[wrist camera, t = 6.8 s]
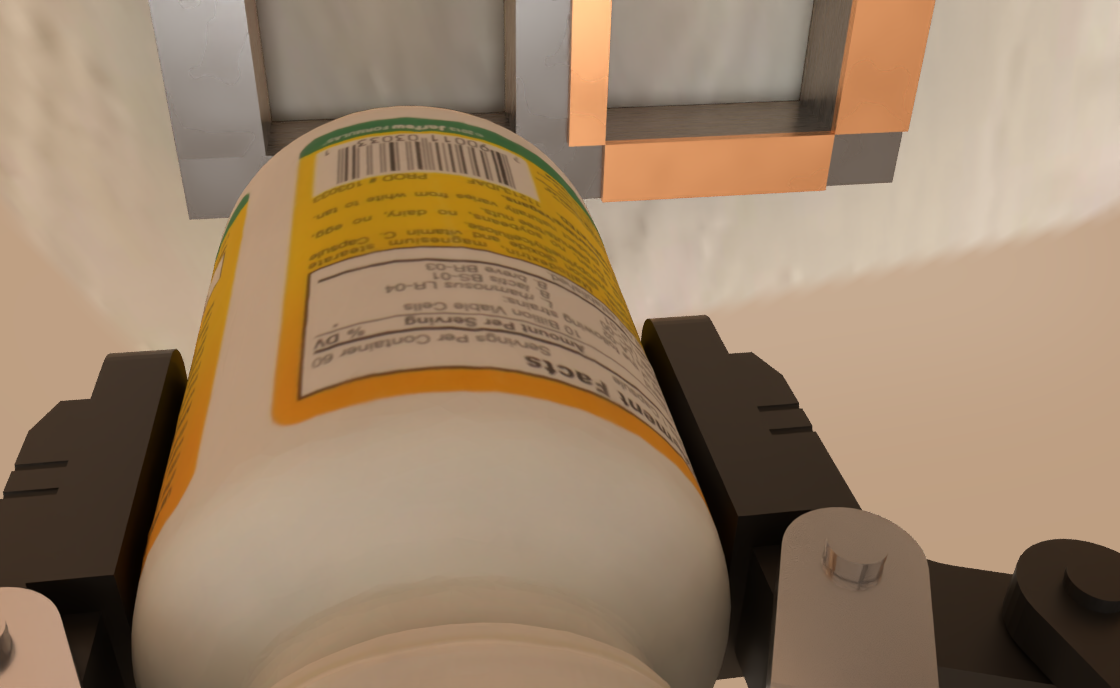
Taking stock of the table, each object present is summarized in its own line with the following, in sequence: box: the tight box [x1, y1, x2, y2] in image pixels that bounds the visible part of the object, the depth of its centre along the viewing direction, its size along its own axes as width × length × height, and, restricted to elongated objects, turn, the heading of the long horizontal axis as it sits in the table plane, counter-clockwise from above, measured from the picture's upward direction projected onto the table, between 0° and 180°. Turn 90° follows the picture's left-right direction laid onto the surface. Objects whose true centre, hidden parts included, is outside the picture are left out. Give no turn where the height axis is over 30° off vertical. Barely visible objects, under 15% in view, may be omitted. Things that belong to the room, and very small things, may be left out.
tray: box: [148, 0, 935, 220], centre depth 28 cm, size 10×20×3 cm, turn 89°
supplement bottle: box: [131, 106, 731, 688], centre depth 11 cm, size 5×5×10 cm
